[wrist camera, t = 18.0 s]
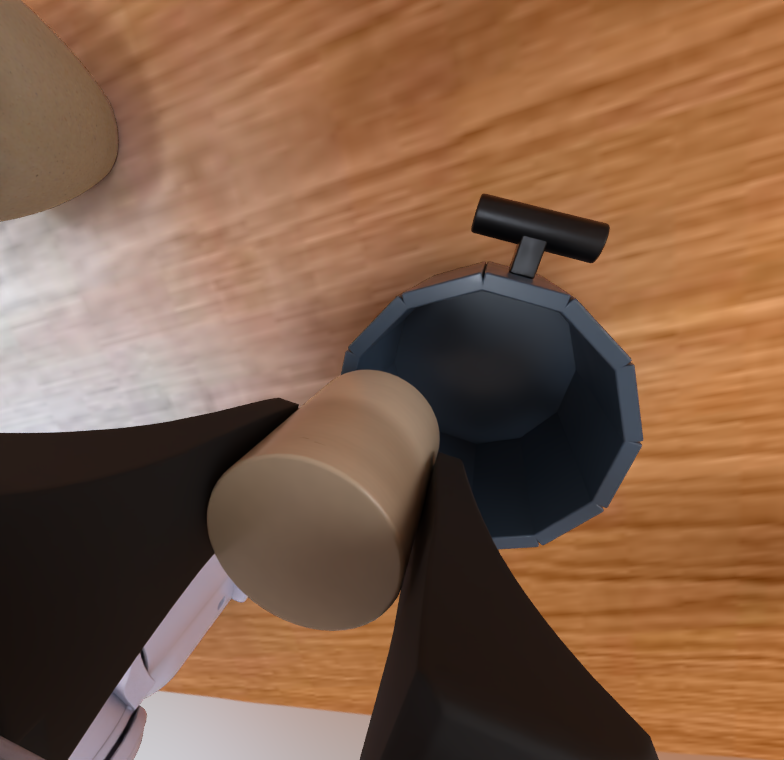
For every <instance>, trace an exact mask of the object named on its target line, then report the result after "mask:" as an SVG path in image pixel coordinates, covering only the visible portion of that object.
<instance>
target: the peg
mask: <svg viewBox="0 0 784 760" xmlns="http://www.w3.org/2000/svg"><path fill="white" fill-rule="evenodd" d="M439 442H440V435H439V427H438V422H437V419H436V417H435V414H434V412H433V410H432V408H431V406H430V405H429V403H428V402H427V400H426V399H425V398H424V396H423V395H422V394H421V393H420V392H419V391H418V390H417V389H416V388H415V387H413V386H412V385H411V384H409V383H408V382H406V381H405V380H403V379H401V378H399V377H397V376H395V375H392V374H390V373H387V372H383V371H378V370H357V371H352V372H348V373H345V374H343V375H340V376H338V377H337V378H335V379H334V380H332V381H331V382H329V383H328V384H327V385H326V386H325V387H324V388H322V389H321V390H320V391H319V392H318V393H317V394H315V395H314V396H313V397H312V398H311V399H310V400H308V401H307V402H306V403H305V404H304V405H303V406H301V407H300V408H299V409H298V410H297V411H296V412H294V413H293V414H292V415H291V416H290V417H289V418H287V419H286V420H285V421H284V422H283V423H282V424H280V425H279V426H278V427H277V428H276V429H275V430H273V431H272V432H271V433H270V434H269V435H268V436H266V437H265V438H264V439H263V440H262V441H261V442H259V443H258V444H257V445H256V446H255V447H253V448H252V449H251V450H250V451H249V452H248V453H246V454H245V455H244V456H243V457H242V458H241V459H239V460H238V461H237V462H236V463H235V464H234V465H232V466H231V467H230V468H229V469H228V470H227V471H226V472H225V473H223V475H222V476H221V477H220V479H219V480H218V481H217V483H216V485H215V486H214V488H213V490H212V493H211V496H210V499H209V502H208V508H207V529H208V535H209V539H210V542H211V545H212V548H213V550H214V553H215V555H216V557H217V559H218V561H219V563H220V565H221V566H222V568H223V569H224V571H225V572H226V574H227V575H228V576H229V578H230V579H231V580H232V581H233V582H234V584H235V585H236V586H237V587H238V588H239V589H240V590H241V591H242V592H243V593H244V594H245V595H246V596H248V597H249V598H250V599H251V600H252V601H253V602H255V603H256V604H258V605H259V606H260V607H262V608H263V609H265V610H267V611H268V612H270V613H272V614H273V615H275V616H277V617H279V618H281V619H284V620H286V621H288V622H291V623H294V624H296V625H300V626H303V627H307V628H312V629H318V630H329V631H336V630H347V629H353V628H357V627H360V626H363V625H366V624H368V623H370V622H372V621H374V620H375V619H377V618H378V617H380V616H381V615H382V614H383V613H384V612H385V611H386V610H387V609H388V608H389V607H390V606H391V605H392V604H393V603H394V601H395V600H396V598H397V597H398V595H399V592H400V590H401V588H402V585H403V581H404V577H405V574H406V570H407V566H408V562H409V559H410V555H411V551H412V547H413V544H414V540H415V536H416V532H417V529H418V525H419V521H420V517H421V514H422V510H423V506H424V502H425V498H426V493H427V489H428V485H429V481H430V478H431V474H432V470H433V467H434V464H435V461H436V457H437V453H438V449H439Z"/></svg>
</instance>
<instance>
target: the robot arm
mask: <svg viewBox="0 0 784 760" xmlns="http://www.w3.org/2000/svg"><path fill="white" fill-rule="evenodd" d="M298 406H299V404H296V403H293V402H290V401H287V400H284V399H281V398H274V399H268V400H263V401H259V402H255V403H250V404H246V405H242V406H238V407H234V408H230V409H226V410H222V411H218V412H213V413H209V414H204V415H199V416H194V417H189V418H184V419H180V420H175V421H169V422H163V423H157V424H151V425H143V426H135V427H127V428H118V429H105V430H90V431H75V432H57V433H0V760H133V759H134V758H135V756H136V753H137V751H138V749H139V746H140V744H141V741H142V736H143V730H144V726H145V723H146V716H147V713H146V711H145V709H144V708H142V707H141V706H139V704H140V703H141V702H142V701H143V699H145V698H147V697H149V696H151V695H152V694H154V693H155V692H157V691H158V690H160V689H161V688H162V687H163V686H165V685H166V684H167V683H168V682H169V681H170V680H171V679H172V678H173V677H174V676H175V674H176V673H177V672H178V671H179V669H180V668H181V666H182V665H183V664H184V662H185V661H186V660H187V658H188V657H189V656H190V654H191V653H192V651H193V650H194V649H195V647H196V646H197V645H198V643H199V642H200V641H201V639H202V638H203V636H204V635H205V634H206V632H207V631H208V630H209V628H210V627H211V626H212V624H213V623H214V621H215V620H216V619H217V617H218V616H219V615H220V613H221V612H222V611H223V609H224V608H225V606H226V605H227V604H228V602H229V601H230V600H231V599H233V600H236V601H238V602H244V601H246V599H247V598H248V596H246V595H245V594H244V593H243V592H242V591H241V590H240V589H239V588H238V587H237V586H236V585H235V584H234V582H233V581H232V580H231V579H230V578H229V576H228V575H227V574H226V572H225V571H224V569H223V568H222V566H221V565H220V563H219V561H218V559H217V557H216V555H215V553H214V550H213V548H212V545H211V542H210V539H209V535H208V529H207V508H208V502H209V499H210V496H211V493H212V490H213V488H214V486H215V485H216V483H217V481H218V480H219V479H220V477H221V476H222V475H223V473H225V472H226V471H227V470H228V469H229V468H230V467H231V466H232V465H234V464H235V463H236V462H237V461H238V460H239V459H241V458H242V457H243V456H244V455H245V454H246V453H248V452H249V451H250V450H251V449H252V448H253V447H255V446H256V445H257V444H258V443H259V442H261V441H262V440H263V439H264V438H265V437H266V436H268V435H269V434H270V433H271V432H272V431H273V430H275V429H276V428H277V427H278V426H279V425H280V424H282V423H283V422H284V421H285V420H286V419H287V418H289V417H290V416H291V415H292V414H293V413H294V412H296V411H297V410H298ZM360 760H659V759H658V757H657V754H656V751H655V748H654V746H653V743H652V741H651V738H650V736H649V735H648V734H647V733H646V732H645V731H644V730H643V729H642V727H641V726H640V725H639V724H638V723H637V722H636V721H635V720H634V719H633V718H632V717H631V716H630V715H629V714H628V713H627V712H626V711H625V710H624V709H623V708H622V707H621V706H620V705H619V704H618V703H617V702H616V700H615V699H614V698H613V697H612V696H611V695H610V694H609V693H608V692H607V691H606V690H605V689H604V688H603V687H602V686H601V685H600V684H599V683H598V682H597V681H596V680H595V679H594V678H593V677H592V675H591V674H590V673H589V672H588V671H587V670H586V669H585V668H584V666H583V665H582V664H581V663H580V662H579V661H578V659H577V658H576V657H575V656H574V655H573V654H572V652H571V651H570V650H569V649H568V648H567V647H566V645H565V644H564V643H563V642H562V641H561V640H560V638H559V637H558V636H557V635H556V633H555V632H554V631H553V630H552V628H551V627H550V626H549V625H548V623H547V622H546V621H545V619H544V618H543V617H542V616H541V614H540V613H539V611H538V610H537V609H536V607H535V606H534V605H533V603H532V602H531V600H530V599H529V598H528V596H527V595H526V594H525V592H524V591H523V589H522V588H521V586H520V585H519V583H518V582H517V581H516V579H515V577H514V576H513V574H512V573H511V571H510V569H509V568H508V566H507V564H506V563H505V561H504V560H503V558H502V556H501V555H500V553H499V551H498V549H497V547H496V545H495V543H494V541H493V539H492V537H491V535H490V533H489V531H488V529H487V527H486V525H485V523H484V520H483V518H482V516H481V513H480V511H479V509H478V506H477V504H476V501H475V499H474V496H473V493H472V490H471V487H470V485H469V482H468V478H467V475H466V471H465V468H464V464H463V462H462V460H461V459H458V458H455V457H452V456H449V455H446V454H444V453H441V452H438V455H437V458H436V461H435V464H434V467H433V470H432V474H431V478H430V481H429V485H428V489H427V493H426V498H425V502H424V506H423V510H422V514H421V517H420V521H419V525H418V529H417V532H416V536H415V540H414V544H413V547H412V551H411V555H410V559H409V562H408V566H407V570H406V574H405V577H404V581H403V585H402V588H401V592H400V598H399V603H398V609H397V615H396V620H395V626H394V631H393V636H392V640H391V645H390V649H389V653H388V657H387V661H386V664H385V668H384V672H383V676H382V679H381V683H380V687H379V691H378V694H377V698H376V702H375V705H374V709H373V713H372V716H371V720H370V724H369V728H368V731H367V735H366V739H365V742H364V746H363V749H362V753H361V757H360Z"/></svg>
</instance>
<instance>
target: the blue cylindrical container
mask: <svg viewBox="0 0 784 760" xmlns="http://www.w3.org/2000/svg"><path fill="white" fill-rule="evenodd" d="M609 229H610V227H609V225H608V224H606V223H602V222H598V221H594V220H590V219H586V218H581V217H577V216H573V215H569V214H565V213H561V212H557V211H553V210H549V209H545V208H541V207H537V206H533V205H529V204H525V203H521V202H517V201H513V200H508V199H504V198H500V197H496V196H492V195H488V194H482V195H481V197H480V200H479V203H478V206H477V209H476V213H475V216H474V220H473V224H472V228H471V231H472V232H473V233H477V234H481V235H484V236H488V237H492V238H496V239H500V240H504V241H507V242H511V243H515V244H517V247H516V250H515V253H514V256H513V259H512V262H511V264H510V267H508V266H504V265H500V264H497V263H493V262H488V263H487V264H486V262H481V263H477V264H473V265H470V266H466V267H461V268H458V269H455V270H452V271H448V272H444V273H441V274H437V275H434V276H432V277H431V278H429V279H427V280H425V281H423V282H421V283H420V284H418V285H416V286H414V287H412V288H411V289H409V290H407V291H405V292H403V293H402V294H400V295H398V296H396V298H395V299H394V300H393V301H392V302H391V303H390V304H389V305H388V306H387V307H386V308H385V309H384V310H383V311H382V312H381V313H380V314H379V315H378V316H377V317H376V318H375V319H374V320H373V321H372V322H371V323H370V325H369V326H368V327H367V328H366V329H365V330H364V331H363V332H362V333H361V334H360V335H359V336H358V337H357V338H356V339H355V340H354V341H353V342H352V343H351V344H350V345H349V347H348V348H349V349H348V350H347V351H346V352H345V357H344V362H343V367H342V372H341V375H343V374H345V373H348V372H352V371H357V370H378V371H383V372H387V373H390V374H392V375H395V376H397V377H399V378H401V379H403V380H405V381H406V382H408V383H409V384H411V385H412V386H413V387H415V388H416V389H417V390H418V391H419V392H420V393H421V394H422V395H423V396H424V398H425V399H426V400H427V402H428V403H429V405H430V406H431V408H432V410H433V412H434V414H435V417H436V419H437V422H438V427H439V435H440V442H439V449H438V452H441V453H444V454H446V455H449V456H452V457H455V458H458V459H461V460H462V462H463V464H464V468H465V471H466V475H467V478H468V482H469V485H470V487H471V490H472V493H473V496H474V499H475V501H476V504H477V506H478V509H479V511H480V513H481V516H482V518H483V520H484V523H485V525H486V527H487V529H488V531H489V533H490V535H491V537H492V539H493V541H494V543H495V545H496V547H497V549H511V548H528V547H538V546H539V543H540V544H541V545H545V544H547V543H548V542H550V541H552V540H554V539H555V538H557V537H559V536H561V535H563V534H564V533H566V532H568V531H570V530H571V529H573V528H575V527H577V526H578V525H580V524H582V523H584V522H586V521H587V520H589V519H591V518H593V517H594V516H596V515H598V514H600V513H602V512H603V511H604V510H603V507H605V508H607V507H608V506H609V504H610V502H611V500H612V498H613V497H614V495H615V493H616V491H617V490H618V488H619V486H620V484H621V482H622V481H623V479H624V477H625V475H626V473H627V472H628V470H629V468H630V466H631V465H632V463H633V461H634V459H635V457H636V456H637V454H638V452H639V450H640V449H641V447H642V444H641V443H640V441H643V433H642V424H641V416H640V408H639V399H638V391H637V382H636V374H635V366H634V364H632V363H631V361H632V360H631V358H630V357H629V356H628V355H627V353H626V352H625V351H624V350H623V349H622V348H621V347H620V346H619V345H618V344H617V343H616V342H615V340H614V339H613V338H612V337H611V336H610V335H609V334H608V333H607V332H606V331H605V330H604V328H603V327H602V326H601V325H600V324H599V323H598V322H597V321H596V320H595V319H594V318H593V316H592V315H591V314H590V313H589V312H588V311H587V310H586V309H585V308H584V307H583V306H582V304H581V303H580V302H579V301H578V300H577V299H576V298H574V297H573V296H571V295H570V294H568V293H567V292H565V291H564V290H562V289H561V288H559V287H558V286H556V285H554V284H553V283H551V282H550V281H548V280H547V279H545V278H543V277H542V276H540V275H537V274H536V272H537V269H538V266H539V264H540V261H541V258H542V256H543V253H544V251H546V252H549V253H553V254H557V255H561V256H565V257H569V258H572V259H576V260H580V261H584V262H588V263H594V262H595V261H596V259H597V258H598V257H599V255H600V254H601V252H602V250H603V248H604V246H605V243H606V241H607V238H608V235H609ZM437 455H438V453H437ZM436 458H437V457H436ZM538 542H539V543H538Z"/></svg>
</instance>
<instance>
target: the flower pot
mask: <svg viewBox="0 0 784 760" xmlns="http://www.w3.org/2000/svg"><path fill="white" fill-rule="evenodd" d="M117 150H118V129H117V124H116V119H115V116H114V113H113V110H112V108H111V105H110V103H109V101H108V99H107V97H106V96H105V94H104V92H103V91H102V89H101V88H100V87H99V85H98V84H97V83H96V81H95V80H94V78H93V77H92V76H91V74H90V73H89V72H88V71H87V69H86V68H85V67H84V66H83V64H82V63H81V62H80V61H79V60H78V58H77V57H76V56H75V55H74V54H73V53H72V51H71V50H70V49H69V48H68V47H67V46H66V45H65V44H64V43H63V41H62V40H61V39H60V38H59V37H58V36H57V35H56V34H55V33H54V32H53V31H52V30H51V29H50V28H49V27H48V26H47V25H46V24H45V23H44V22H43V21H42V20H41V19H40V18H39V17H38V16H37V15H36V14H35V13H34V12H33V11H32V10H31V9H30V8H29V7H28V6H27V5H26V4H24V3H23V2H22V1H21V0H0V222H1V221H6V220H11V219H16V218H20V217H24V216H28V215H32V214H35V213H38V212H42V211H45V210H47V209H50V208H53V207H55V206H58V205H60V204H62V203H65V202H67V201H69V200H71V199H73V198H75V197H77V196H79V195H80V194H82V193H84V192H85V191H87V190H88V189H90V188H91V187H93V186H94V185H96V184H97V183H98V182H99V181H101V180H102V179H103V178H104V177H105V176H106V175H107V174H108V173H109V172H110V170H111V169H112V167H113V165H114V162H115V160H116V156H117Z"/></svg>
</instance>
